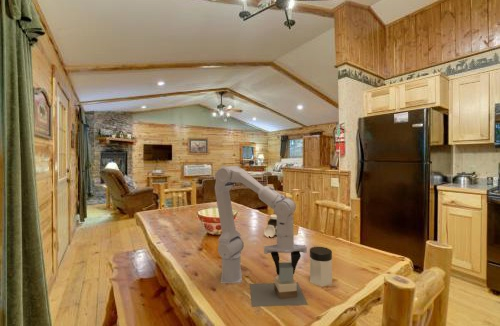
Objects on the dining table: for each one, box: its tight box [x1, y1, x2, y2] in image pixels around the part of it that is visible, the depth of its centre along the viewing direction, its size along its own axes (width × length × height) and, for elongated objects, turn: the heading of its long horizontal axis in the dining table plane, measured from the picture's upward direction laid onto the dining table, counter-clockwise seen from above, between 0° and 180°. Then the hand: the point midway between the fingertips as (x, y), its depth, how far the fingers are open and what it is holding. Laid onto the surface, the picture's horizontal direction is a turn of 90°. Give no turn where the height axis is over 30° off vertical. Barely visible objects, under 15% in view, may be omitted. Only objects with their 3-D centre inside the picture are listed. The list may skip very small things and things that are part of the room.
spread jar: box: [263, 214, 277, 238], centre depth 150 cm, size 12×11×12 cm
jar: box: [309, 246, 333, 288], centre depth 94 cm, size 9×8×12 cm
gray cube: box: [277, 261, 294, 282], centre depth 85 cm, size 4×4×4 cm
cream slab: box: [274, 276, 297, 292], centre depth 86 cm, size 6×6×2 cm
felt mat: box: [249, 281, 309, 308], centre depth 85 cm, size 14×18×1 cm
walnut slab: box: [274, 284, 297, 299], centre depth 86 cm, size 6×6×2 cm
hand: (285, 273), depth 85 cm, fingers closed on gray cube, 4 cm apart
